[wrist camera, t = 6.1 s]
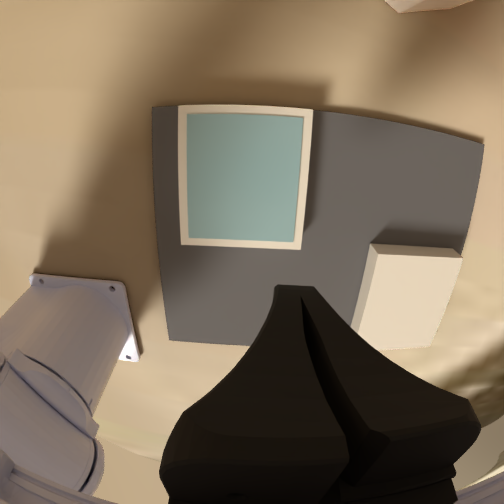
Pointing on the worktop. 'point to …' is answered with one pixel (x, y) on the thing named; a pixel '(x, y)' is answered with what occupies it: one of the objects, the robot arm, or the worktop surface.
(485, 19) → the worktop surface
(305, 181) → the tile
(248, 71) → the worktop surface
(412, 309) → the tile
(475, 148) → the mat
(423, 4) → the jar
